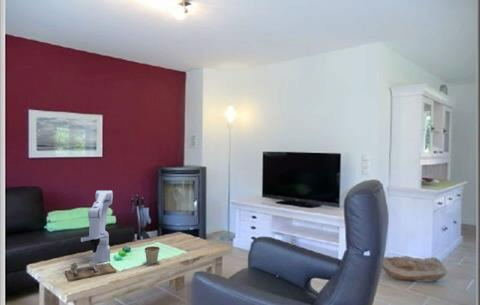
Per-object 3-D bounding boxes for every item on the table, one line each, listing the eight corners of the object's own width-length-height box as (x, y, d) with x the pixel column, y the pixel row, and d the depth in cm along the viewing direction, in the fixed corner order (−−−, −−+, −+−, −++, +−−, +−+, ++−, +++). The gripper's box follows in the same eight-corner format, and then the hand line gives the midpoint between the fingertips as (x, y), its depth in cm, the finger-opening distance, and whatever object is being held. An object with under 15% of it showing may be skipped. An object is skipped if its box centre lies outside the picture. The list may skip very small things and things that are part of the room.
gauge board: (109, 264, 209) (109, 255, 208) (116, 272, 197) (116, 262, 197) (64, 273, 195) (64, 263, 195) (69, 281, 183) (69, 271, 183)
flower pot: (158, 259, 221) (158, 245, 220) (160, 264, 212) (161, 250, 212) (143, 260, 217) (143, 246, 217) (144, 265, 208) (145, 251, 208)
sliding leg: (95, 265, 202) (95, 260, 202) (98, 270, 195) (98, 264, 195) (89, 266, 200) (89, 261, 200) (92, 271, 193) (93, 265, 193)
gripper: (82, 232, 195) (82, 256, 195) (109, 228, 204) (109, 251, 204) (79, 229, 201) (79, 252, 201) (106, 226, 209) (105, 248, 210)
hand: (94, 252), depth 203 cm, fingers closed
